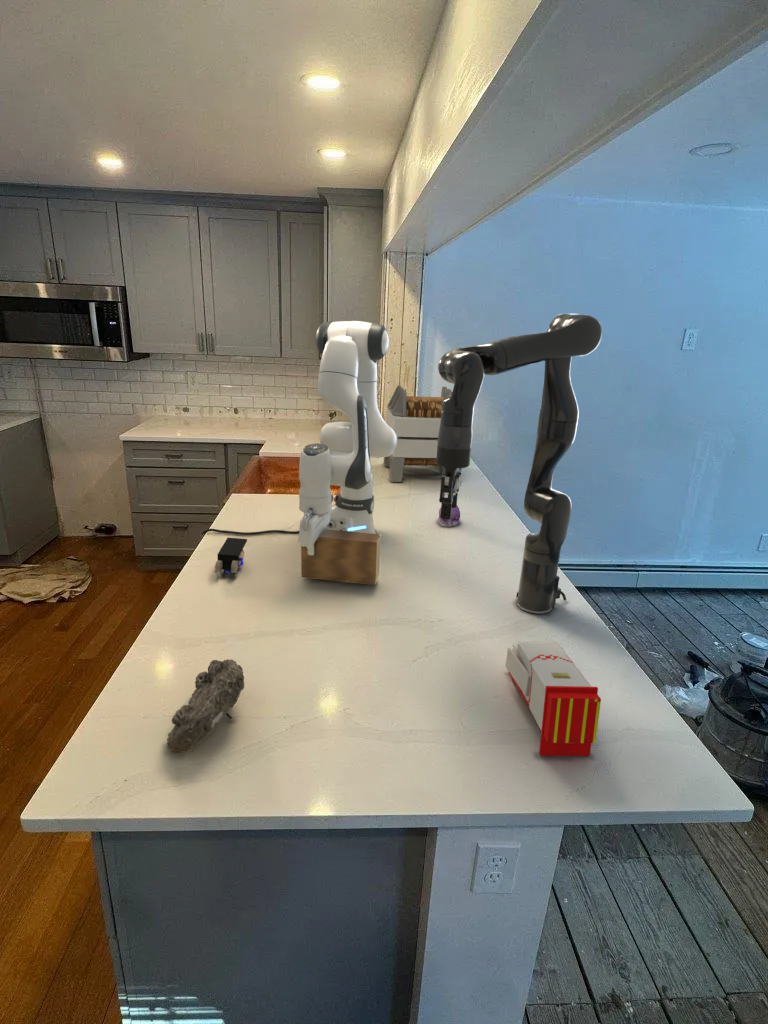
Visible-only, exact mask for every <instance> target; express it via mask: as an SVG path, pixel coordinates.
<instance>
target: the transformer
mask: <svg viewBox="0 0 768 1024" xmlns="http://www.w3.org/2000/svg"><path fill="white" fill-rule="evenodd" d="M452 392H453V390H452V389H451V388H447V386H442V387H441V392H440V393H441V394H440V396H415V395H414V396H413V395H412V396H411V395H407V394H408V393H407V390H406V389H404V388H403V387H402V385H399V384H398V385H397V386H396V388H395V390H394V392H393V394H392V395H391V398H390V400H389V402H388V404H387V405H386V413H385V414H386V415H385V422H386V423H387V424H388V426H390V427H391V428H392V429H393V430H394V432H395V434H396V437H397V446H396V449H395V451H394V452H393V453H392V454H391V455H390V456H389V457H383V466H384V467H388V468H389V475H388V476H389V477H388V478H389V480H390V482H391V483H402V482H403V475H404V469H405V466H406V467H407V466H411V467H412V466H413V467H415V466H416V467H417V466H418V467H436V468H437V470H438V469H439V473H440V474H441V475H442V473H444V471H445V470H446V468H445V467H443V466H440V465H438V464H437V462H436V458H437V445H438V433H439V428H440V422H441V409H442V402H443V400H444V398H445V397H447V396H451V395H452Z"/></svg>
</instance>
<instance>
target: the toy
mask: <svg viewBox="0 0 768 1024" xmlns="http://www.w3.org/2000/svg"><path fill="white" fill-rule="evenodd" d="M511 646H512V647H508V648H507V653H506V658H505V659H506V660H505V668H506V669H507V671H508V675H509V676H510V677H511V679H512V681H513V682H514V684H515V686H516V688H517V689H518V691H519V693H520V694H521V696H522V698H523V700H524V702H525V703H526V705H527V706H528V708H529V710H530V712H531V715H532V716H533V718H534V720H535V722H536V723H537V724H536V725H537V726H538V727H539V730H540V731H541V733H540V739H539V740H540V741H539V749H538V751H539V752H538V754H539V756H543V757H548V756H550V757H551V756H552V757H553V756H554V757H568V756H569V757H591V751H592V744H596V743H597V734H598V726H599V717H600V710H601V702H602V698H601V697H600V696H599V694H598V693H599V688H598V686H592V684H590V682H589V681H588V680H587V678H586V677H585V676H584V675H583V673H582V672H581V671H580V669H579V668H578V667H577V665H576V664H575V663H574V661H573V660H572V659H571V658H570V656H569V655H568V654H567V652H566V651H565V649H564V647H562V645H561V644H560V643H559V642H553V641H551V642H549V641H548V642H547V641H546V642H545V641H517V642H512V645H511Z"/></svg>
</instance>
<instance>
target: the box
mask: <svg viewBox="0 0 768 1024" xmlns="http://www.w3.org/2000/svg"><path fill="white" fill-rule="evenodd" d="M314 548H315V553H314V555H308V549H307V547H305V546H300V563H301V564H300V566H301V567H300V570H301V571H300V573H301V578H305V579H315V580H324V581H333V582H334V581H335V582H343V583H353V584H361V585H373V586H376V584H377V581H378V579H379V576H380V557H381V555H380V554H381V534H380V533H376V534H371V533H360V532H350V531H339V530H328V529H324V530H323V531H322V533H321V534H320V535H319V537H318V539H317V540H316V541H315V544H314Z"/></svg>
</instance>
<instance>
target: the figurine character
mask: <svg viewBox="0 0 768 1024" xmlns="http://www.w3.org/2000/svg"><path fill="white" fill-rule="evenodd" d="M247 542H248V538H240V537H226V539H225V541H224V543H223V544H222V546H221V547H220V549H219V551H218V552H217V560H216V562H215V564H214V572H215V573H221V577H222V578H224V577H225V576H226V574H227V573H230V574H231V573H232V574H231V578H234V577H235V575H236V573H237V572H239V571H240V567H242V566H243V565H244V564H245V562H244V558H245V551H244V547H245V546H246V544H247Z"/></svg>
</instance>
